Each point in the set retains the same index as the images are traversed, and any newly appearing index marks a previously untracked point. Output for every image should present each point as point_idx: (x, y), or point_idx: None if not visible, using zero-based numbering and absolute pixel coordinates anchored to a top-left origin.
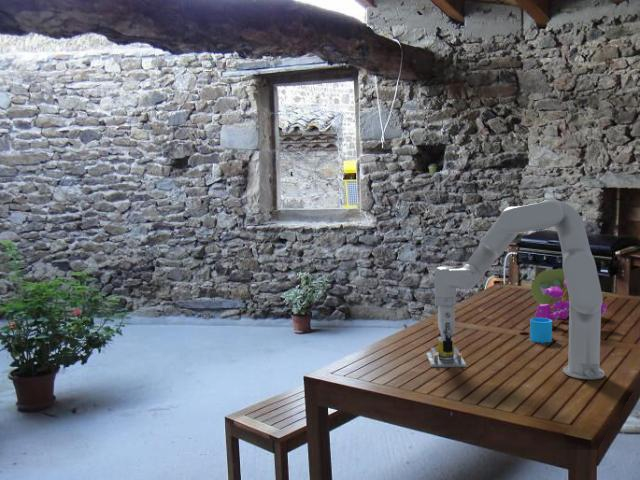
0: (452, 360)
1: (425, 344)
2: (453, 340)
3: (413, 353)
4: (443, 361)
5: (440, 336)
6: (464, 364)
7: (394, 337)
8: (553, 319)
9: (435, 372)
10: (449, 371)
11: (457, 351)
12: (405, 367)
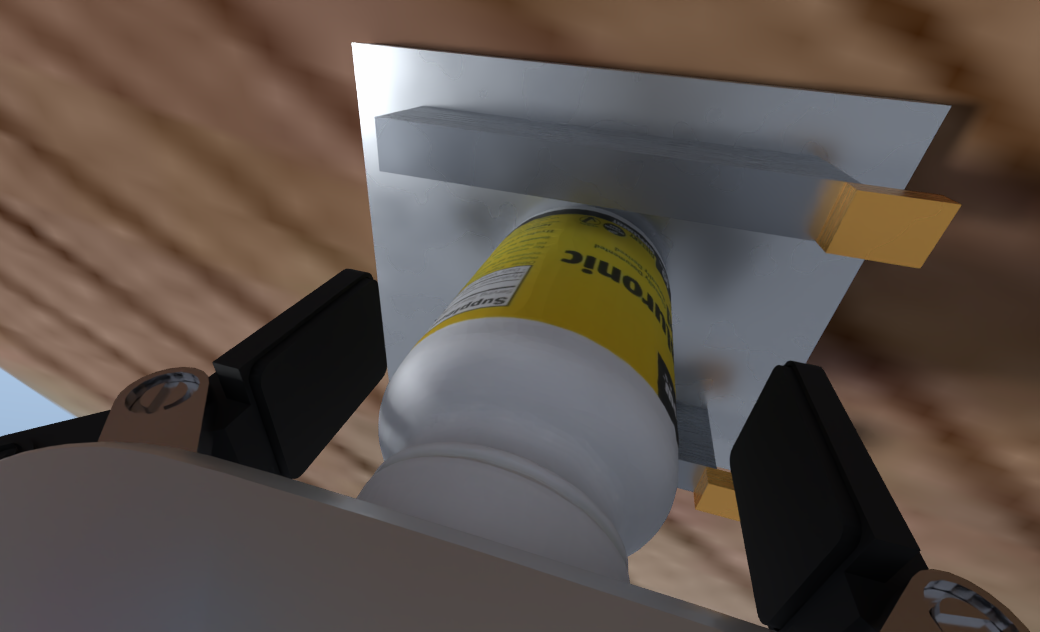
0: (690, 248)
1: (123, 277)
2: (600, 355)
3: (364, 427)
4: (694, 352)
5: (320, 442)
6: (932, 134)
7: (65, 399)
8: None
9: (917, 481)
10: (977, 367)
11: (603, 174)
12: (677, 574)
